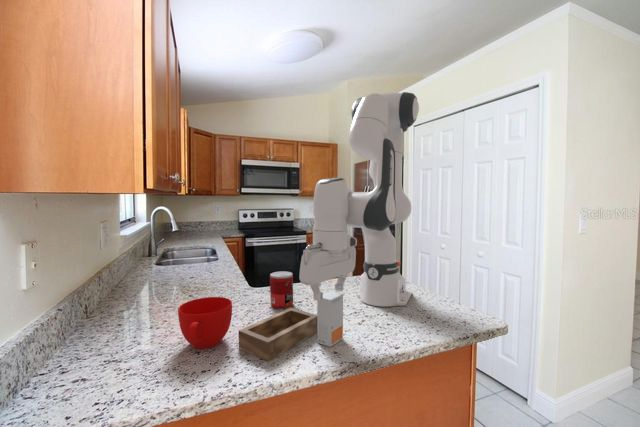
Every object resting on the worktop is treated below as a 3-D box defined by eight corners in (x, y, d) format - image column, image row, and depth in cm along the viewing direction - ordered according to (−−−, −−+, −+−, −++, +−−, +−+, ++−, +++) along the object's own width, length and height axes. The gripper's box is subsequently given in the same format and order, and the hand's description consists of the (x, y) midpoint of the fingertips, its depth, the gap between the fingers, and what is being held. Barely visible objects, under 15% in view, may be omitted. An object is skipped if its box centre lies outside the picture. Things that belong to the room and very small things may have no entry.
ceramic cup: (162, 366, 66) (160, 322, 66) (190, 333, 83) (189, 297, 83) (222, 364, 67) (221, 320, 67) (237, 331, 84) (236, 295, 84)
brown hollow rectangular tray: (290, 322, 89) (290, 307, 89) (318, 331, 83) (318, 315, 83) (238, 348, 74) (238, 330, 74) (268, 361, 68) (268, 342, 68)
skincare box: (330, 347, 74) (330, 300, 73) (317, 343, 77) (316, 296, 76) (343, 338, 79) (343, 293, 78) (330, 334, 81) (330, 290, 81)
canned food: (289, 309, 100) (289, 277, 100) (267, 308, 102) (266, 276, 101) (296, 301, 108) (295, 271, 107) (274, 300, 109) (274, 270, 109)
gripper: (315, 247, 66) (314, 309, 66) (360, 238, 82) (359, 288, 83) (293, 244, 70) (292, 303, 70) (340, 237, 86) (340, 284, 87)
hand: (329, 295), depth 77 cm, fingers open, 8 cm apart
